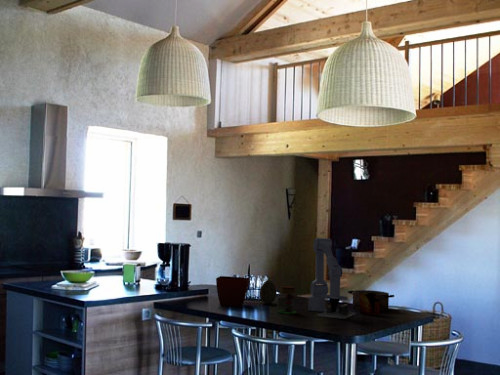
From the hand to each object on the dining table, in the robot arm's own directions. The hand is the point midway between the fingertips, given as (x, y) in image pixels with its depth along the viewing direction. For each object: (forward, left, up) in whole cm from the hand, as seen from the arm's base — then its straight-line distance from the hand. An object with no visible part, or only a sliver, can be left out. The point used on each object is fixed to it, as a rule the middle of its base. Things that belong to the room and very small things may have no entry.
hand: (334, 311), depth 364 cm
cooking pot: (+9, +47, -3) cm, 48 cm away
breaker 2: (+2, +14, -1) cm, 14 cm away
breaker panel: (0, +7, -3) cm, 8 cm away
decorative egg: (-52, +25, -3) cm, 58 cm away
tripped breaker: (-3, 0, -1) cm, 3 cm away
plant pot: (-66, +2, -3) cm, 66 cm away
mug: (+15, +25, -3) cm, 29 cm away
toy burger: (-27, -3, -3) cm, 28 cm away
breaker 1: (+2, +7, -1) cm, 7 cm away
